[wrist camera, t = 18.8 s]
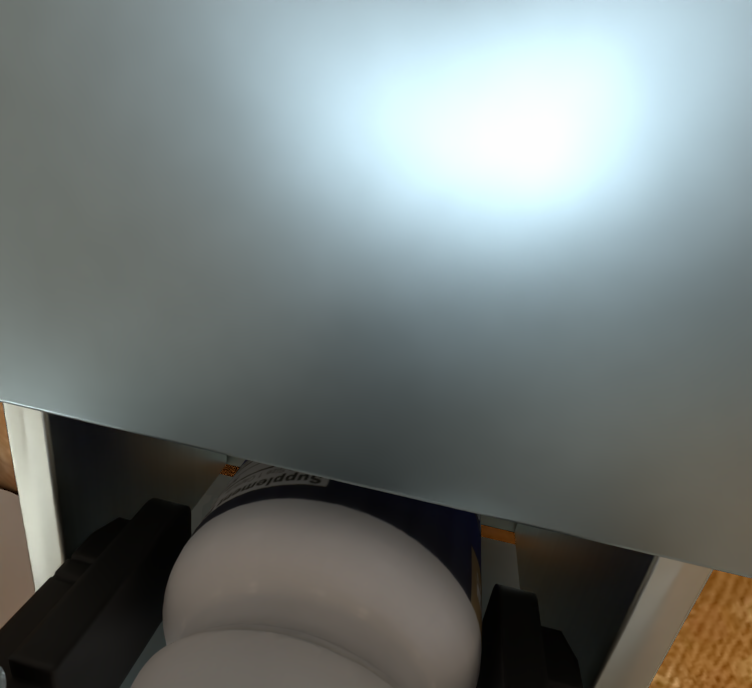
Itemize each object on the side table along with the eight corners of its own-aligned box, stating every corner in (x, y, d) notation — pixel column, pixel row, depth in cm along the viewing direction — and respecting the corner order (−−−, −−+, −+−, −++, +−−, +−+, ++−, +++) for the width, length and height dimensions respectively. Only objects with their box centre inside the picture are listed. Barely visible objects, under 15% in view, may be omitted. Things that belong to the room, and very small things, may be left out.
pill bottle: (512, 476, 15) (566, 982, 6) (349, 529, 17) (206, 978, 8) (423, 309, 14) (323, 649, 5) (256, 387, 16) (-48, 738, 7)
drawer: (500, 683, 20) (515, 1019, 13) (197, 601, 22) (44, 860, 14) (723, 77, 12) (1192, -26, 4) (201, 5, 13) (-190, -176, 5)
